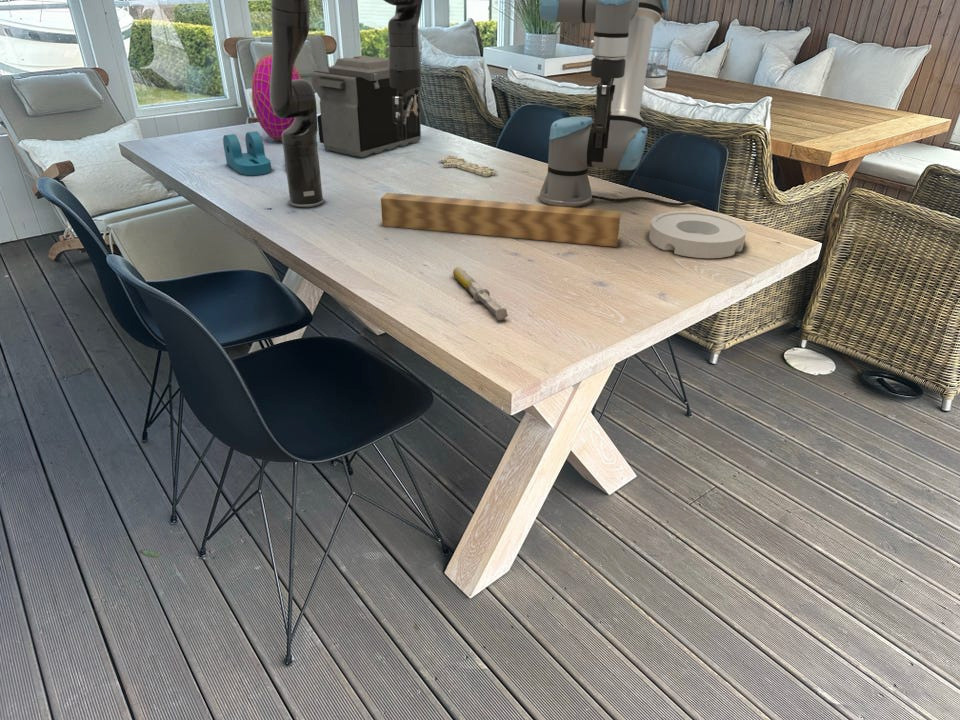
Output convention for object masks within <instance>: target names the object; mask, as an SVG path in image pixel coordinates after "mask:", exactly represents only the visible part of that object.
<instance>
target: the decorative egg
mask: <svg viewBox="0 0 960 720" xmlns="http://www.w3.org/2000/svg"><path fill="white" fill-rule="evenodd" d="M271 66H272V54H268V55H265V56H262V57H261V58H260V59H259V60H258V61H257V62H256V65H255V68H254V69H253V70H254V71H253V73H252V77H251V101H252V107H253V110H254V114H255V116H256V118H257V121H258V123H259V125H260V127H261V128H262V130H263V131H264V133H266V135H267V136H268V137H270V138H271V139H273V140H275V141H281V142H282V132H283V131H284V130H286V129H287V128H288V127H289V126H290V125H291V124H292V123H293V121H294V118H287V119H281V118H279V117H277V116H276V115H275V113H274V112H273V109H272V106H271V102H270V79H271ZM297 79H302V77H301V75H300V73H299V71H298V69H297V67H296V66H295V65H294V67H293V72H292V80H297Z"/></svg>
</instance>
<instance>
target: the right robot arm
mask: <svg viewBox="0 0 960 720" xmlns="http://www.w3.org/2000/svg"><path fill="white" fill-rule="evenodd" d="M538 10H539V17H540V19H541V20H542V21H543V22H551V23H554V24H555V23H579V24H580V23H581V24H594V32H593V40H590V43H589V44H590V45H591V46H593V47H592V53H591V54H592V55H593V56H594V57H593V58H592V59H591V61H590V63H591V66H590V76H591V77H593V78H596V79H597V78H598V79H599V78H600V83H598V84H597V86H596V91H595V93H596V97H595V105H596V106H595V107H596V108H595V115H594V120H593V118H592V117H591V116H585V115H584V116H583V115H582V116H581V115H579V116H570V117H564V118H563V117H562V118H559V119H557V120H555V121H554V122H552V123H551V125H550V129H549V130H550V131H549V137H548V140H549V141H548V142H549V143H548V156H547V158H548V159H547V173H546V176H545V178H544V181H543V184H542V187H541V189H540V192H539V200H540V202H542V203H543V204H545V205H547V206H558V207H571V208H581V207H584V206H588V205H589V204H591V203H592V199H595V200H602V201H606V202H615V203H616V202H618V203H619V202H627V201H650V202H653V203H657V204H661V205H662V204H663V205H666V206H671V207H681V206H682V207H683V206H686V205H691V204H697V205H698V206H699V207H704V206H705V205H704V204H703V203H702V202H701V201H699V200H697V199H691V200H688V201H682V202H671V201H666V200H663V199H658V198H653V197H647V196H631V197H630V196H629V197H622V198H611V197H606V196H601V195H595V194H593V193H592V188H591V184H590V179H589V168H599V169H610V170H618V171H634V170H635V169H637V168H638V167H639V164H640V162H641V159H642V157H643V154H644V151H645V148H646V147H645V146H646V143H647V138H648V133H649V132H648V131H649V130H648V128H647V127H645V126H644V125H645V120H644V119H643V118H642V116H641V115H640V113H641V107H642V101H643V96H644V95H643V94H644V90H645V82H646V76H647V69H648V64H649V57H650V52H651V46H652V41H653V40H652V39H653V32H654V27H655V25H656V24H658V23H659V22H660V20H661V19H662V14H665V13H667V12H668V10H669V0H539V9H538Z"/></svg>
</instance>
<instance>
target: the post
mask: <svg viewBox="0 0 960 720" xmlns="http://www.w3.org/2000/svg"><path fill="white" fill-rule="evenodd" d="M380 209H381V224H382V227H392V228H404V229H415V230H423V231H424V230H426V231H435V232H448V233H456V234H457V233H459V234H469V235H479V236H480V235H482V236H489V237H490V236H491V237H503V238H513V239H523V240H524V239H525V240H535V241H544V242H545V241H547V242H558V243H568V244H578V245H579V244H580V245H589V246H590V245H591V246H600V247H601V246H602V247H612V248H613V247H614V248H617V247H618V242H619V233H620V226H621V225H620V224H621V217H622V211H620V210H619V211H618V210H606V209H596V208H595V209H593V208H583V207H582V208H581V207H558V206H552V205H547V204H545V205H544V204H531V203H519V202H508V201H507V202H506V201H496V200H495V201H493V200H482V199H472V198H471V199H470V198H458V197H445V196H433V195H419V194H408V193H407V194H406V193H396V192H386V193H385V194H384V195H382V196H381V197H380Z"/></svg>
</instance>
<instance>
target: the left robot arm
mask: <svg viewBox="0 0 960 720" xmlns="http://www.w3.org/2000/svg"><path fill="white" fill-rule="evenodd" d="M383 1H384V2H386V4H389V5H391V6H395V11H394V15H393V16H392V17H391V18H390V19H389V20H388V23H387V36H388V53H387V54H388V58H387V59H389V78H390V86H391V87H392V88H395V89H397V96H392V121H393V123H395V124H397V139H398V140H406V139H407V130H406V121H407V116H410V117H408V131H409V132H410V133H416V132H417V117H418V113H420V114H421V97H419V95H420V88H421V87H422V76H421V75H422V70H421V53H420V41H419V40H420V38H419V22H420V19H421V18H420V17H421V14H422V13H421V12H422V5H423V0H383ZM310 3H311V2H310V0H270V13H271V14H270V16H271V19H270V20H271V38H272V39H271V55H272V66H271V79H270V102H271V106H272V109H273V112H274V113H275V115H276V116H277V117H279V118H281V119H287V118H294V121H293V123H292V124H291V125H290V126H289V127H288V128H287V129H286V130H284V131H283V132H282V141H281V142H282V149H283V150H282V151H283V157H284V162H285V164H284V165H285V171H286V179H287V180H286V181H287V186H288V187H287V188H288V195H289V204H290V206H292V207H296V208H303V209H305V208H307V209H308V208H314V207H315V208H316V207H319V206H321V205H322V204H324V196H323V187H322V179H321V177H322V175H321V168H320V167H321V166H320V159H319V150H318V141H317V135H318V131H319V130H318V120H317V117H318V112H317V111H318V109H317V108H318V107H317V98H316V92H315V89H314V88H313V86H312V83H310V81H308V80H306V79H303V78H301V79H297V80H292V72H293V67H294V66H295V63H296V60H297V58H298V57H299V54H300V52H301V50H302V48H303V47H304V44H305V43H306V41H307V38H308V36H309V32H310V27H311V26H310V25H311V23H310V21H311V17H310V16H311V5H310ZM399 116H400V118H399Z"/></svg>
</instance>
